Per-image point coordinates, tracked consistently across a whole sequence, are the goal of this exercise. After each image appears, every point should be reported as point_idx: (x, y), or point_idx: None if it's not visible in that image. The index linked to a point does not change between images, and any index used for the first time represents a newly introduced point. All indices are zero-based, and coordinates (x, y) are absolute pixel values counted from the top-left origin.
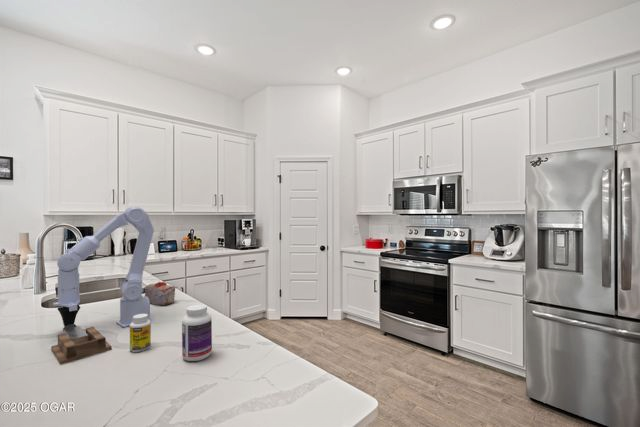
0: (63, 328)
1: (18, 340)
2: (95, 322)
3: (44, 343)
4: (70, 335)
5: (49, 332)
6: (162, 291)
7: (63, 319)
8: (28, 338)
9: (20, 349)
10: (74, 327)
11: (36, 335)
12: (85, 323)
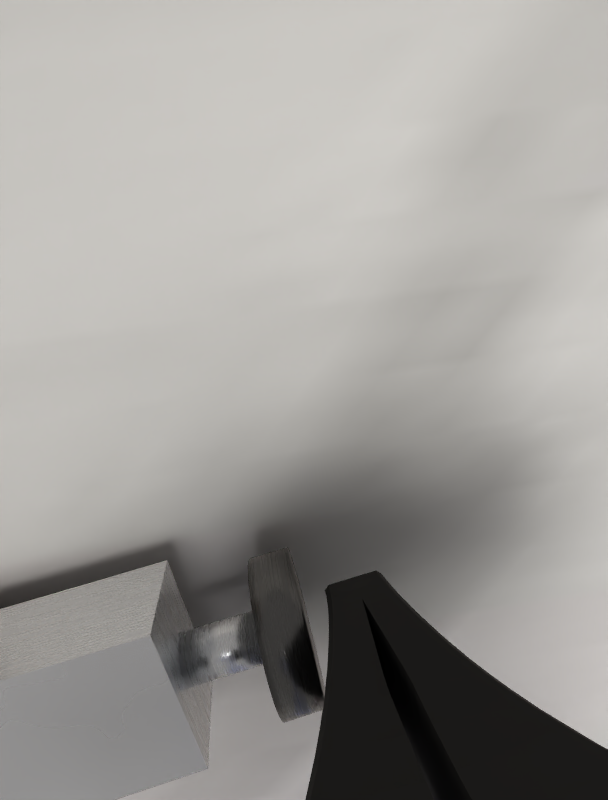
0: (286, 587)
1: (502, 43)
2: (556, 695)
3: (161, 364)
4: None
5: (556, 358)
6: None
7: (326, 716)
8: (497, 159)
9: (73, 114)
10: (160, 735)
11: (550, 236)
12: (594, 626)
